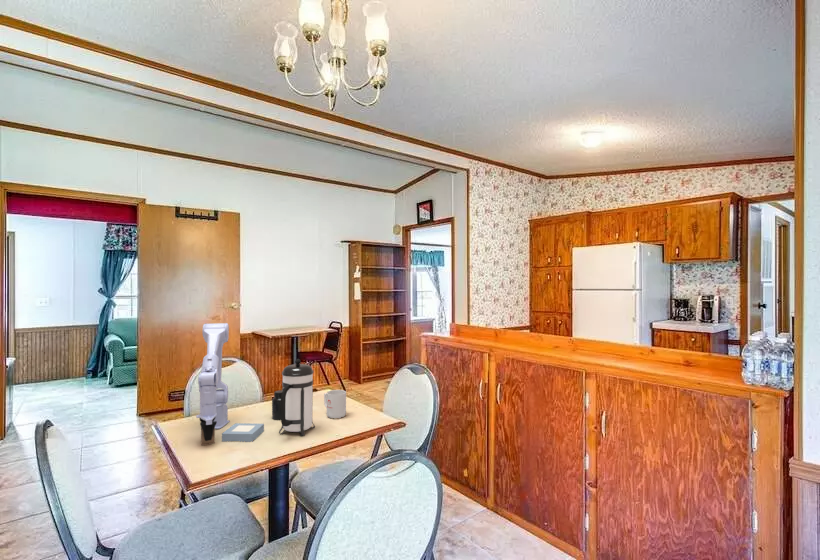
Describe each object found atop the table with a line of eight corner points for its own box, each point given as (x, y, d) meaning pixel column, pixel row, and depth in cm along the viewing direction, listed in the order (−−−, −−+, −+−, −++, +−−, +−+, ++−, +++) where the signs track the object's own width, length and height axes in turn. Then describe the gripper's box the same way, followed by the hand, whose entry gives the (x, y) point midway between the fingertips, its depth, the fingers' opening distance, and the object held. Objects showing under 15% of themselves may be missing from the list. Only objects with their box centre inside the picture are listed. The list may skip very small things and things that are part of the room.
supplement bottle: (282, 414, 195) (282, 388, 195) (290, 417, 191) (290, 391, 191) (268, 418, 190) (269, 391, 190) (277, 421, 185) (277, 394, 185)
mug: (349, 415, 194) (350, 391, 194) (336, 420, 187) (336, 395, 187) (331, 411, 201) (331, 387, 201) (317, 415, 194) (317, 391, 194)
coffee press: (272, 428, 176) (273, 357, 176) (310, 423, 183) (311, 354, 184) (280, 442, 161) (281, 364, 161) (321, 435, 168) (322, 361, 168)
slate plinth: (235, 430, 173) (235, 423, 173) (263, 430, 173) (263, 423, 173) (221, 441, 161) (221, 433, 161) (252, 441, 161) (252, 434, 161)
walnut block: (200, 441, 161) (201, 425, 161) (213, 439, 164) (213, 424, 164) (201, 445, 157) (201, 429, 158) (214, 443, 160) (214, 427, 160)
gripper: (195, 399, 165) (195, 433, 165) (197, 409, 152) (196, 446, 152) (215, 397, 168) (215, 430, 168) (218, 406, 156) (217, 442, 156)
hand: (207, 438), depth 161 cm, fingers closed on walnut block, 4 cm apart
